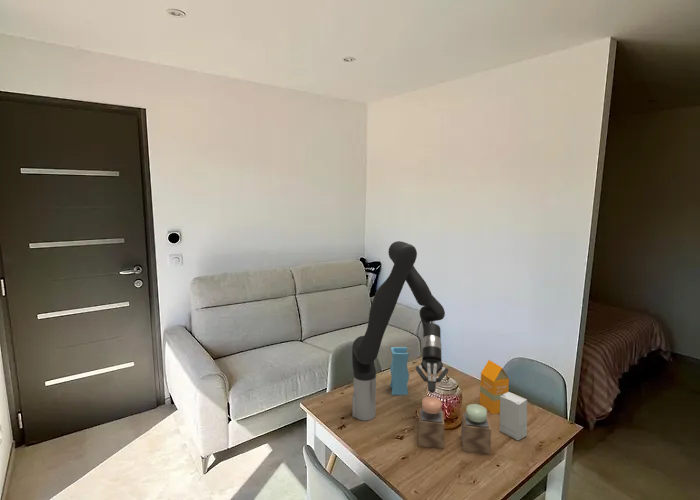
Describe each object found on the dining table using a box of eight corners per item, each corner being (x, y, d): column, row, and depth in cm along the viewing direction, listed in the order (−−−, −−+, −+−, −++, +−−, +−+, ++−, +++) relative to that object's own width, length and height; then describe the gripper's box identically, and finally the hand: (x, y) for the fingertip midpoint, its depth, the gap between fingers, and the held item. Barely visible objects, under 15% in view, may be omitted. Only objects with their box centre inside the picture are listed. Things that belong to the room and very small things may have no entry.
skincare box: (526, 436, 146) (529, 399, 144) (517, 441, 142) (519, 404, 140) (507, 425, 153) (509, 390, 151) (497, 430, 149) (499, 394, 147)
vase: (408, 395, 176) (409, 353, 174) (391, 395, 176) (392, 353, 174) (406, 386, 184) (407, 347, 182) (390, 386, 184) (390, 347, 182)
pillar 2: (463, 451, 137) (464, 425, 136) (461, 436, 146) (462, 411, 145) (489, 454, 135) (491, 428, 134) (485, 438, 144) (487, 414, 143)
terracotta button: (421, 412, 139) (422, 405, 139) (422, 402, 146) (422, 395, 146) (441, 414, 138) (441, 407, 138) (440, 404, 145) (441, 397, 144)
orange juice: (493, 401, 171) (496, 358, 169) (507, 411, 163) (510, 366, 160) (479, 403, 169) (481, 360, 166) (492, 414, 160) (494, 369, 158)
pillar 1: (418, 445, 140) (418, 420, 139) (418, 431, 149) (419, 407, 148) (443, 448, 138) (444, 423, 137) (442, 434, 147) (443, 409, 146)
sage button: (467, 421, 136) (467, 413, 136) (465, 410, 143) (465, 403, 143) (488, 423, 135) (488, 415, 135) (484, 412, 142) (485, 405, 142)
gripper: (415, 344, 153) (414, 387, 143) (449, 346, 151) (450, 390, 141) (415, 351, 159) (414, 393, 149) (448, 353, 157) (449, 397, 147)
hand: (431, 392), depth 145 cm, fingers closed
